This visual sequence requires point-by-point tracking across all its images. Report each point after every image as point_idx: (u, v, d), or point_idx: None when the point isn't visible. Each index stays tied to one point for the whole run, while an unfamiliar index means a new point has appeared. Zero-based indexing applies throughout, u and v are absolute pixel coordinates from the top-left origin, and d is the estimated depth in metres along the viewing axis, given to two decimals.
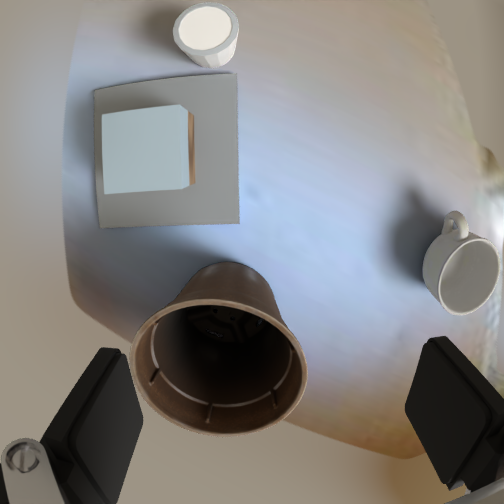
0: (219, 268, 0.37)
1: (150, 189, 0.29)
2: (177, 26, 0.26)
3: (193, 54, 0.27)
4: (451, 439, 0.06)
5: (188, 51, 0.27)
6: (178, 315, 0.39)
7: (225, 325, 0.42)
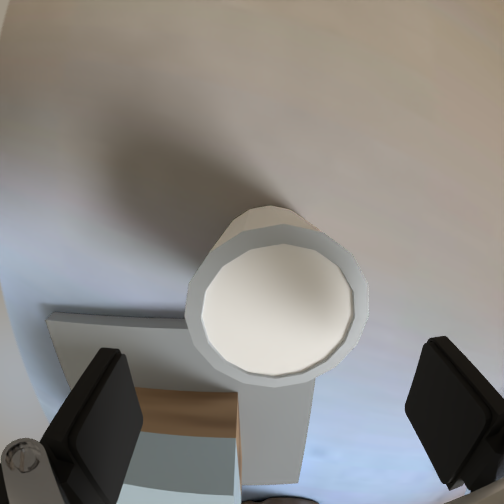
0: None
1: None
2: (197, 307, 0.11)
3: (248, 381, 0.12)
4: (451, 439, 0.06)
5: (235, 376, 0.12)
6: None
7: None
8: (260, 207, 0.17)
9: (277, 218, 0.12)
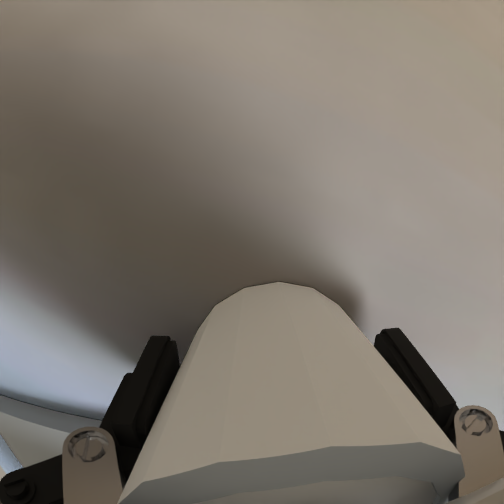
0: None
1: None
2: None
3: None
4: None
5: None
6: None
7: None
8: (261, 286, 0.10)
9: (305, 380, 0.05)
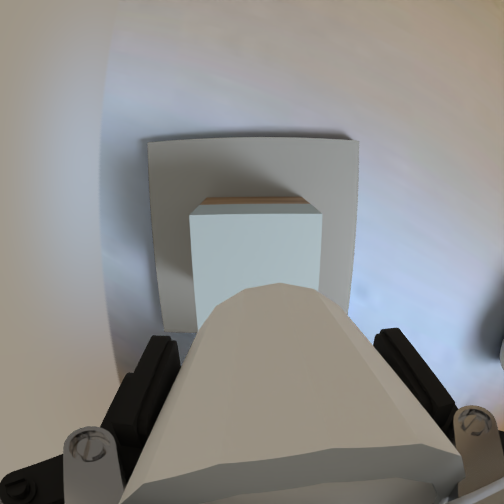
0: None
1: None
2: None
3: None
4: None
5: None
6: None
7: None
8: (262, 287, 0.10)
9: (306, 382, 0.05)
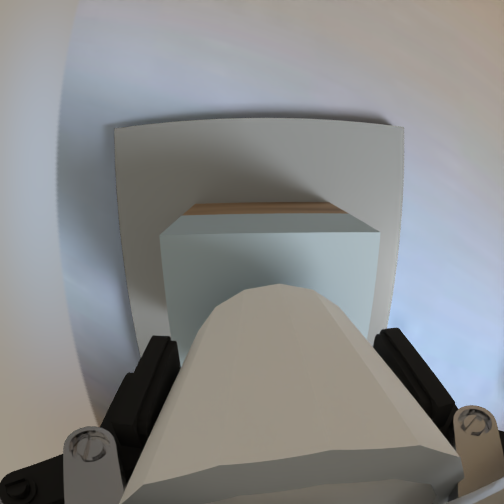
0: None
1: None
2: None
3: None
4: None
5: None
6: None
7: None
8: (262, 288, 0.10)
9: (305, 384, 0.05)
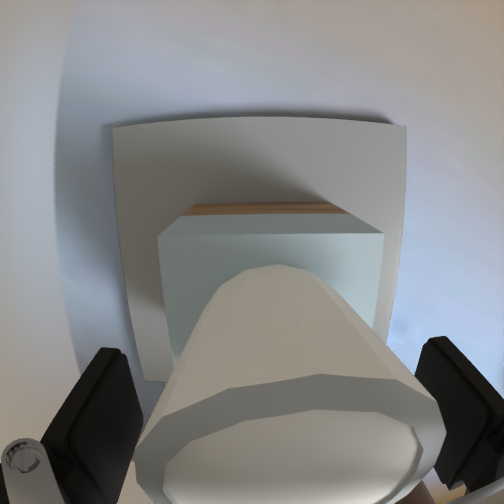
0: None
1: None
2: (154, 479, 0.05)
3: None
4: (451, 439, 0.06)
5: None
6: None
7: None
8: (262, 268, 0.11)
9: (299, 331, 0.06)
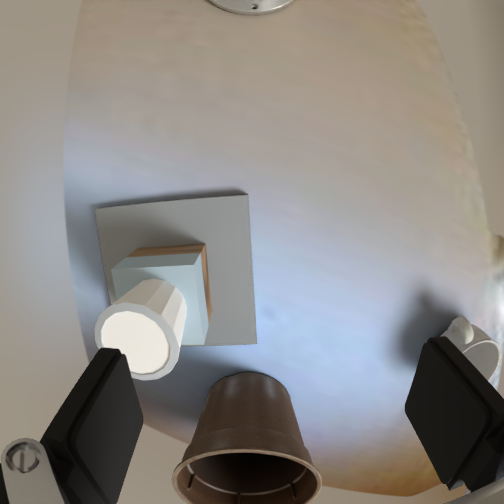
0: (240, 385, 0.38)
1: None
2: (99, 338, 0.22)
3: None
4: (451, 439, 0.06)
5: None
6: None
7: None
8: (147, 280, 0.28)
9: (132, 296, 0.23)
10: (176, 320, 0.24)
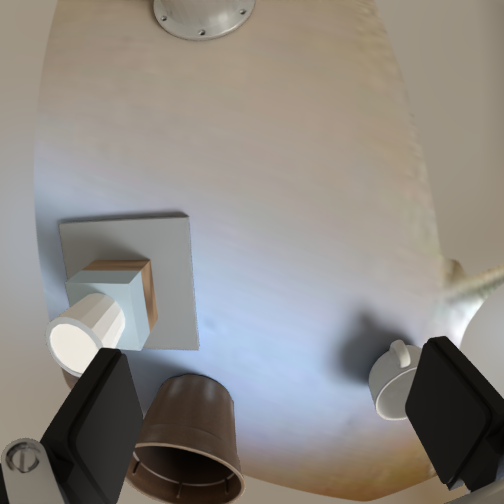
0: (183, 385, 0.41)
1: (116, 347, 0.33)
2: (49, 342, 0.25)
3: (73, 374, 0.26)
4: (451, 439, 0.06)
5: (68, 371, 0.26)
6: None
7: None
8: None
9: (73, 310, 0.26)
10: (107, 332, 0.27)
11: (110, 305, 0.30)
